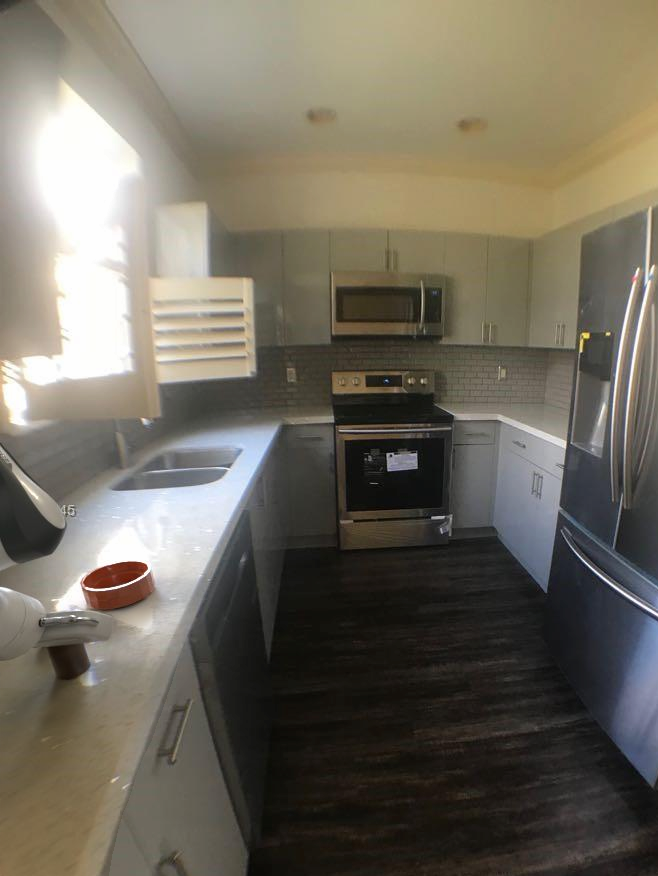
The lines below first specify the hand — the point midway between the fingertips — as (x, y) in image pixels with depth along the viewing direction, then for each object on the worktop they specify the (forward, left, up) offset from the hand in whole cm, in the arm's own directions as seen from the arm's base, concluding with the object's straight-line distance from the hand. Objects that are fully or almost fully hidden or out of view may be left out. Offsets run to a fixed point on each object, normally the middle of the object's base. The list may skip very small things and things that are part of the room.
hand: (63, 640), depth 74 cm
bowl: (+4, +24, -6) cm, 25 cm away
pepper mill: (0, 0, -6) cm, 6 cm away
